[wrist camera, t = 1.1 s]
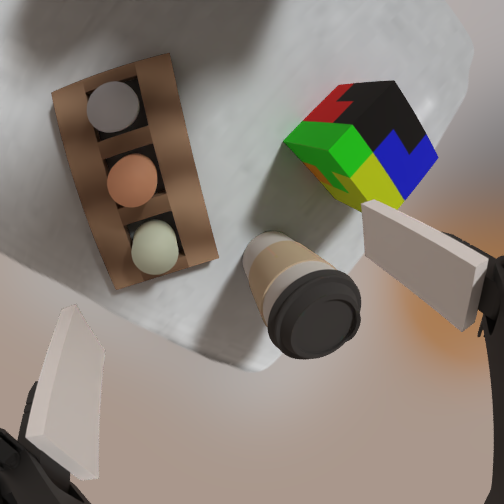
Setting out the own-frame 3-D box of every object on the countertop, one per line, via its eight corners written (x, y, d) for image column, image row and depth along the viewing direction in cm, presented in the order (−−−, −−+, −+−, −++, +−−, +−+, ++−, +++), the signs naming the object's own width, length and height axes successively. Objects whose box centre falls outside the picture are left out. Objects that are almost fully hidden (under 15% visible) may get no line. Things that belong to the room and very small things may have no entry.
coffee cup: (227, 289, 38) (266, 375, 25) (240, 218, 35) (294, 282, 22) (293, 291, 41) (352, 365, 28) (310, 226, 38) (386, 283, 25)
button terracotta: (106, 161, 27) (100, 166, 24) (150, 147, 28) (149, 150, 25) (119, 204, 29) (116, 213, 26) (162, 190, 30) (163, 198, 27)
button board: (57, 94, 24) (51, 92, 22) (168, 56, 26) (169, 52, 24) (117, 281, 34) (116, 290, 32) (215, 250, 36) (219, 258, 34)
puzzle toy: (382, 144, 37) (438, 157, 28) (334, 198, 38) (384, 224, 29) (338, 85, 32) (394, 80, 23) (282, 141, 33) (328, 150, 24)
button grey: (89, 94, 24) (81, 91, 21) (134, 79, 25) (131, 74, 22) (100, 137, 26) (93, 139, 23) (144, 123, 27) (142, 122, 24)
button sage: (127, 227, 30) (124, 238, 27) (169, 213, 31) (170, 224, 28) (141, 265, 32) (140, 280, 29) (181, 252, 33) (184, 266, 30)
